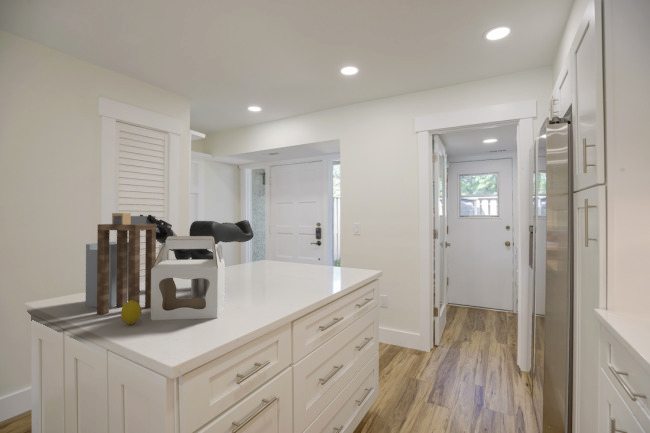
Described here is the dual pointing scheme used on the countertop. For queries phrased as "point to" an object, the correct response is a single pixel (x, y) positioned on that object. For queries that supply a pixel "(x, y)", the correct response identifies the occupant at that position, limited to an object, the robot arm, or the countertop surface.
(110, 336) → the countertop surface
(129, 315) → the lemon
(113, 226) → the walnut stand
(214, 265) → the gable box
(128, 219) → the bar
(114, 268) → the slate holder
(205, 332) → the countertop surface
